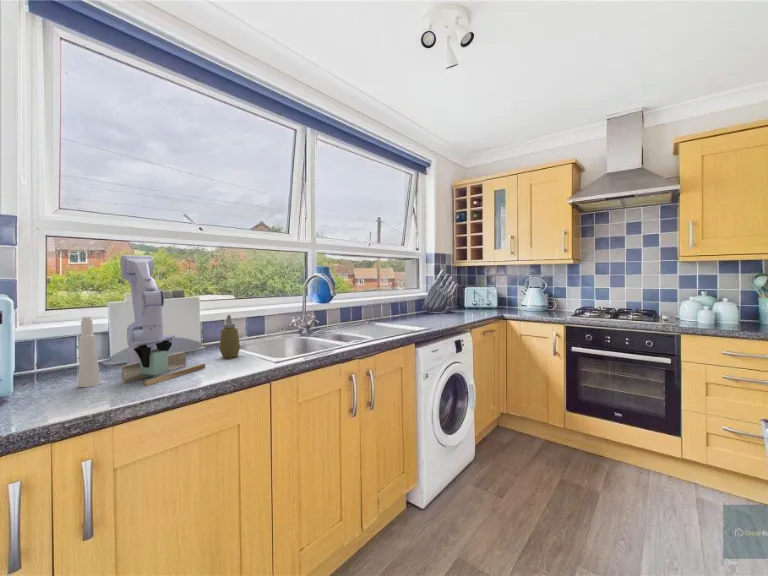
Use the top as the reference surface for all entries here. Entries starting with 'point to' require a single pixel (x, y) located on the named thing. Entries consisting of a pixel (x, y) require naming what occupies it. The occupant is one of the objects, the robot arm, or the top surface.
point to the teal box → (156, 362)
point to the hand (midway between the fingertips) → (154, 365)
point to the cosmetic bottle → (88, 356)
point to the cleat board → (174, 362)
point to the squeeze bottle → (229, 339)
